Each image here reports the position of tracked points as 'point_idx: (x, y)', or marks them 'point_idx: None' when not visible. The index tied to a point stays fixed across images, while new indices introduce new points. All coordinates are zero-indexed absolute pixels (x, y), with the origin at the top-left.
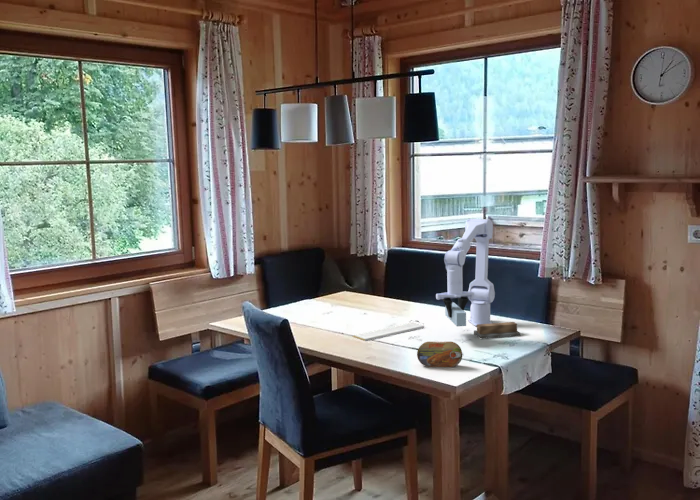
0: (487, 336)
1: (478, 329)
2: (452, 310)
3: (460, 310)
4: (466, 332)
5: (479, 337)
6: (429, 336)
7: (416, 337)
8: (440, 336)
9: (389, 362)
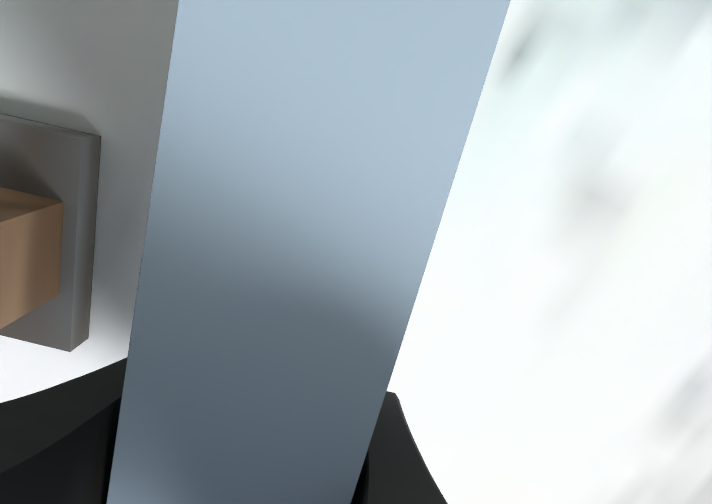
0: (12, 120)
1: (34, 260)
2: (375, 410)
3: (231, 211)
4: None
5: (96, 174)
6: (530, 456)
7: (666, 487)
8: (432, 406)
9: None
